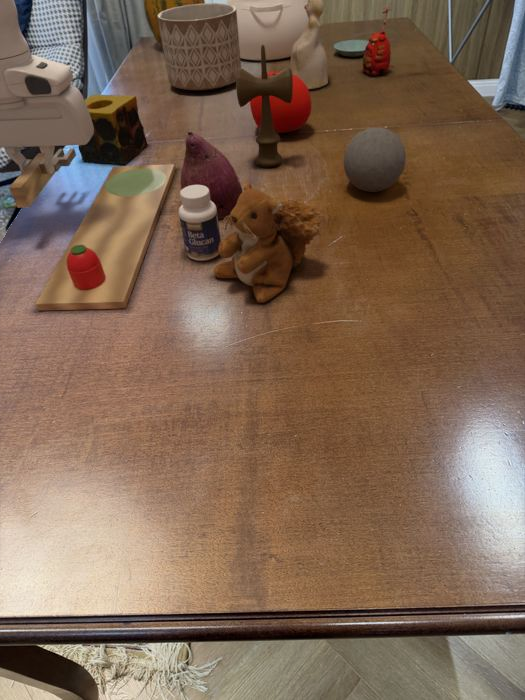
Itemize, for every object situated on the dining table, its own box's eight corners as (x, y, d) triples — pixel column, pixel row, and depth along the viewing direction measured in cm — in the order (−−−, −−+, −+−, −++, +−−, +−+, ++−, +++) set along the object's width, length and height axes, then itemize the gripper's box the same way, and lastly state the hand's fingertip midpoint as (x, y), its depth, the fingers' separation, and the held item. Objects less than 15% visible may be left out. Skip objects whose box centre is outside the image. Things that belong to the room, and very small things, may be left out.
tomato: (295, 115, 114) (294, 59, 106) (319, 137, 104) (320, 76, 96) (243, 125, 111) (238, 68, 103) (263, 148, 102) (259, 86, 94)
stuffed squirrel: (208, 277, 71) (194, 189, 62) (286, 240, 76) (283, 155, 67) (250, 311, 65) (241, 219, 56) (331, 269, 70) (335, 179, 61)
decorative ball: (413, 191, 85) (423, 131, 78) (366, 208, 82) (371, 147, 75) (376, 170, 91) (381, 113, 84) (330, 185, 88) (333, 127, 81)
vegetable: (210, 243, 83) (183, 169, 70) (175, 213, 88) (144, 140, 75) (258, 207, 85) (240, 130, 73) (222, 181, 90) (199, 104, 78)
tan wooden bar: (39, 207, 74) (31, 186, 72) (6, 208, 75) (-2, 187, 72) (77, 155, 88) (71, 136, 85) (49, 155, 88) (42, 137, 86)
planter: (255, 76, 137) (250, 4, 125) (218, 99, 125) (209, 22, 113) (195, 71, 144) (186, 2, 132) (155, 92, 132) (141, 18, 120)
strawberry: (69, 290, 68) (56, 258, 65) (78, 271, 72) (67, 240, 68) (100, 289, 68) (89, 257, 65) (109, 270, 71) (98, 239, 68)
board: (38, 310, 68) (35, 303, 67) (114, 172, 98) (113, 166, 97) (125, 308, 67) (123, 301, 66) (175, 169, 97) (174, 163, 96)
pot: (228, 42, 165) (222, -19, 153) (309, 37, 164) (309, -26, 152) (222, 68, 144) (215, -1, 133) (315, 61, 143) (315, -8, 132)
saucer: (381, 56, 143) (381, 47, 142) (342, 61, 142) (342, 52, 140) (364, 46, 152) (364, 37, 150) (327, 51, 150) (327, 43, 148)
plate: (99, 204, 89) (97, 197, 88) (114, 175, 97) (113, 169, 96) (162, 201, 88) (160, 195, 87) (172, 173, 96) (171, 167, 95)
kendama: (245, 157, 99) (235, 41, 85) (294, 156, 98) (292, 38, 84) (242, 171, 95) (231, 51, 81) (293, 169, 94) (291, 47, 80)
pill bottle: (189, 265, 73) (178, 203, 66) (183, 246, 77) (171, 186, 70) (225, 257, 74) (217, 195, 67) (217, 239, 78) (209, 179, 71)
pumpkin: (141, 53, 161) (121, -45, 144) (171, 38, 174) (156, -54, 156) (191, 56, 155) (177, -46, 138) (219, 40, 168) (209, -56, 150)
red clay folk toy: (356, 71, 134) (361, 4, 124) (379, 66, 136) (385, 0, 126) (372, 78, 129) (378, 9, 119) (395, 73, 131) (403, 5, 121)
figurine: (286, 78, 134) (284, -14, 120) (325, 75, 134) (327, -17, 120) (289, 92, 125) (287, -5, 112) (331, 89, 125) (334, -8, 111)
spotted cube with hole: (148, 145, 106) (137, 95, 99) (125, 166, 100) (112, 113, 93) (106, 142, 109) (93, 93, 102) (81, 162, 102) (65, 110, 95)
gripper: (-81, 86, 68) (-34, 183, 77) (68, 80, 67) (96, 180, 76) (-58, 72, 72) (-17, 165, 82) (81, 66, 71) (107, 162, 81)
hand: (39, 172), depth 79 cm, fingers closed on tan wooden bar, 2 cm apart
